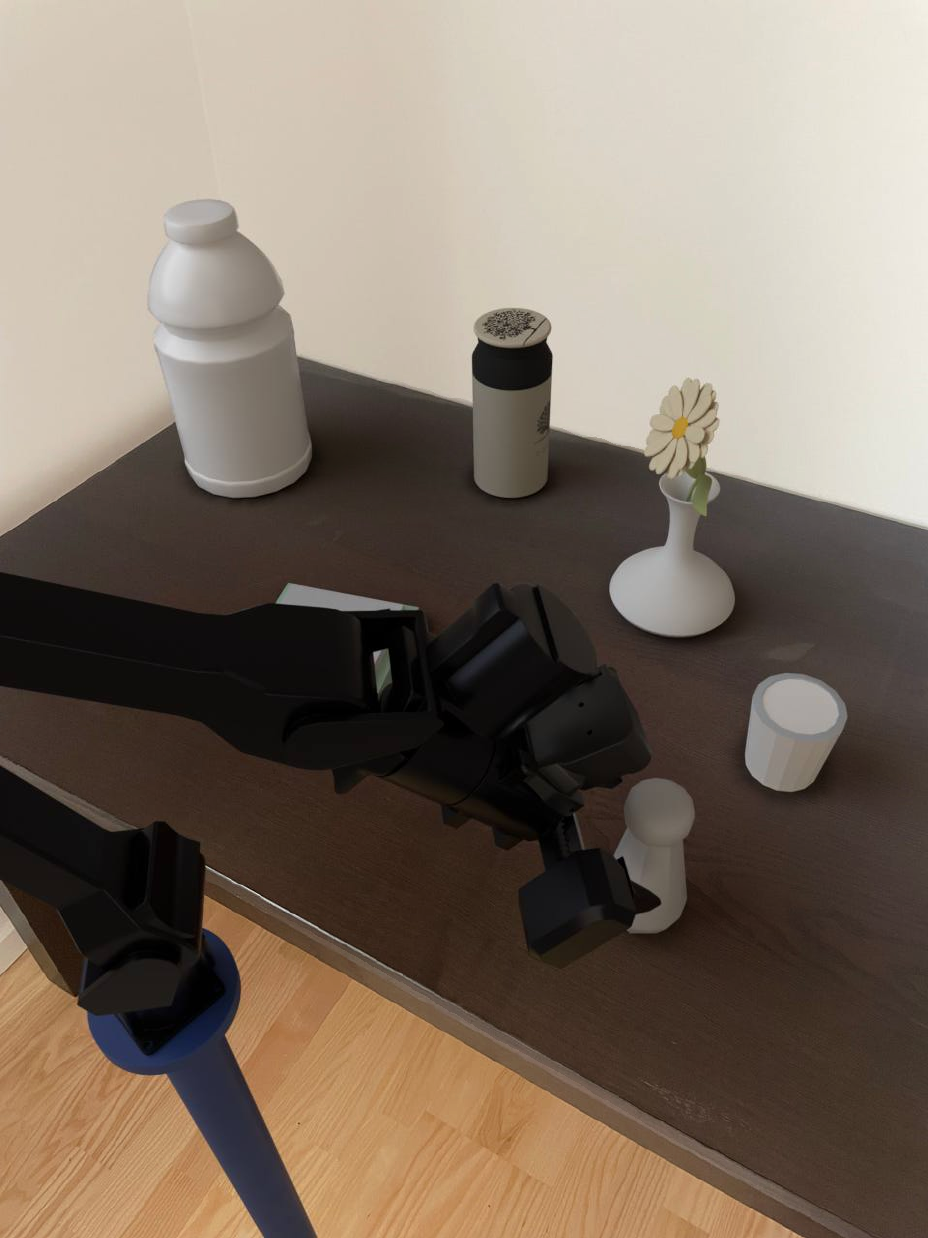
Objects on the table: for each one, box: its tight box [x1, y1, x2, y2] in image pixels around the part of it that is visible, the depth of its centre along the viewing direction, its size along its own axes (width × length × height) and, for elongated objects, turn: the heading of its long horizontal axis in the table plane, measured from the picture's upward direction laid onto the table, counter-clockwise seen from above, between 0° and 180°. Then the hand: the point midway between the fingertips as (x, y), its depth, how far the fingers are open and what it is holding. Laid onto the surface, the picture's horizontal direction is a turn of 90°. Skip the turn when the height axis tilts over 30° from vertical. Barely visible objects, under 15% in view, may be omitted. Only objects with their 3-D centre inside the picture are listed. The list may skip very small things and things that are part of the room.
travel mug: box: [471, 307, 554, 499], centre depth 100 cm, size 8×8×18 cm
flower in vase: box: [609, 377, 736, 638], centre depth 82 cm, size 13×11×25 cm
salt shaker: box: [613, 777, 696, 934], centre depth 64 cm, size 6×6×13 cm
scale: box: [275, 582, 420, 693], centre depth 86 cm, size 13×13×3 cm
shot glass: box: [744, 672, 849, 793], centre depth 75 cm, size 7×7×7 cm
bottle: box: [146, 198, 313, 499], centre depth 99 cm, size 14×14×28 cm
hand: (635, 841), depth 62 cm, fingers open, 9 cm apart
